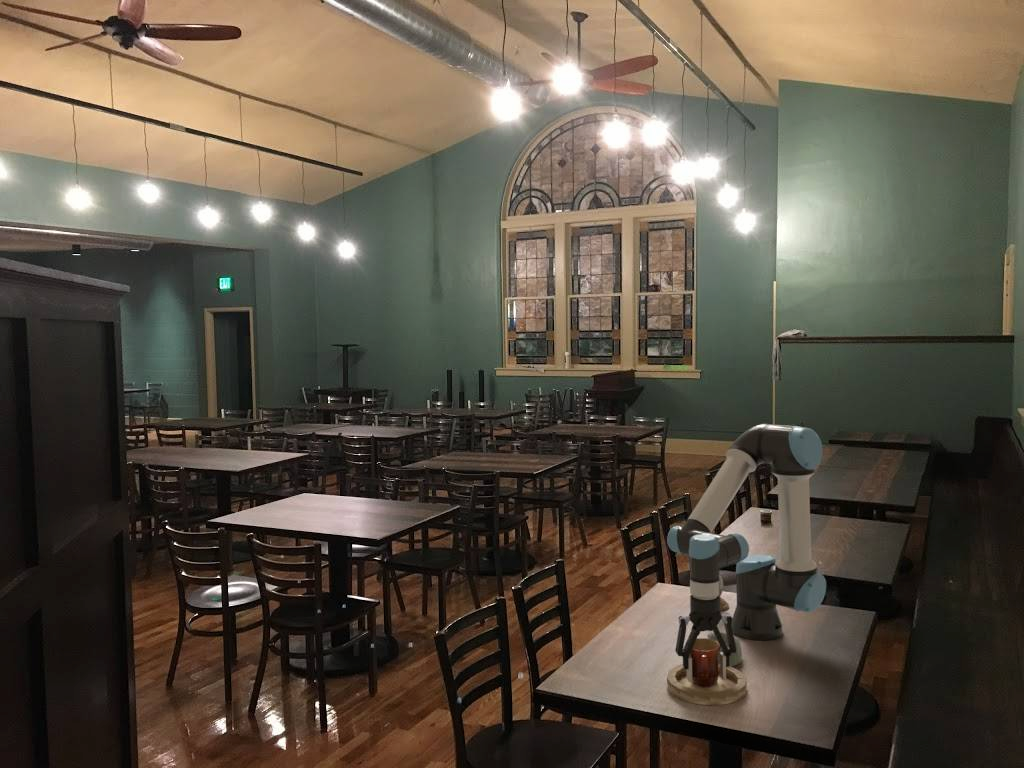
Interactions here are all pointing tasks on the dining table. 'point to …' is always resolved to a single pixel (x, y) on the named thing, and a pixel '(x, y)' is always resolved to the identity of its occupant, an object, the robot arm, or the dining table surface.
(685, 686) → the round tray
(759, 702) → the dining table surface
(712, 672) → the mug
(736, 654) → the decorative stone
